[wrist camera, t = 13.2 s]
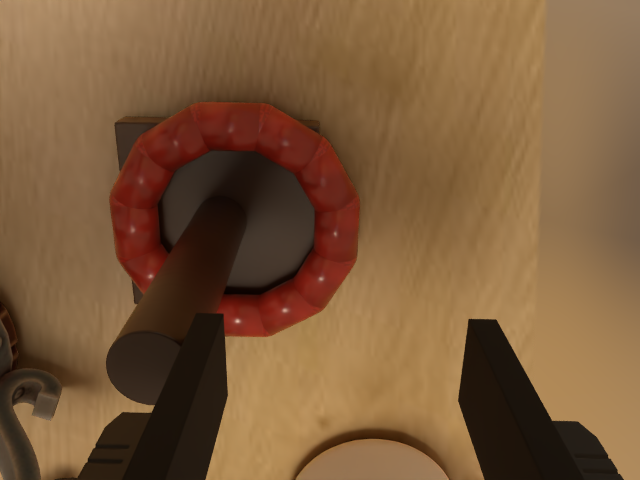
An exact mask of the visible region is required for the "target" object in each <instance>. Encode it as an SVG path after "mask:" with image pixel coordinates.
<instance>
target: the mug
mask: <svg viewBox="0 0 640 480" xmlns="http://www.w3.org/2000/svg"><path fill="white" fill-rule="evenodd" d="M17 341H18V340H17V336H16V332H15V328H14V325H13V322H12V320H11V318H10V316H9V314H8V312H7V310H6V308H5V307H4V306H3V305H2V303H1V302H0V472H1V474H2V477H3V480H41V476H40V469H39V465H38V462H37V458H36V455H35V452H34V450H33V447H32V445H31V443H30V441H29V439H28V437H27V435H26V433H25V431H24V429H23V427H22V426H21V424H20V422H19V420H18V418H17V416H16V414H15V412H14V409H13V406H14V405H16V404H18V403H22V402H24V403H30V404H32V405H33V406H34V410H33V413H32V415H33V416H36V417H40V418H43V419H46V420H50V421H51V419H52V418H53V416H54V413H55V410H56V407H57V404H58V401H59V398H60V395H61V390H62V386H61V384H60V382H59V380H58V379H57V378H56V377H55V376H53V375H52V374H50V373H49V372H46V371H42V370H39V369H30V368H23V369H17V370H16V366H17V360H18V352H17V348H16V345H15V343H16V342H17Z"/></svg>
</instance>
